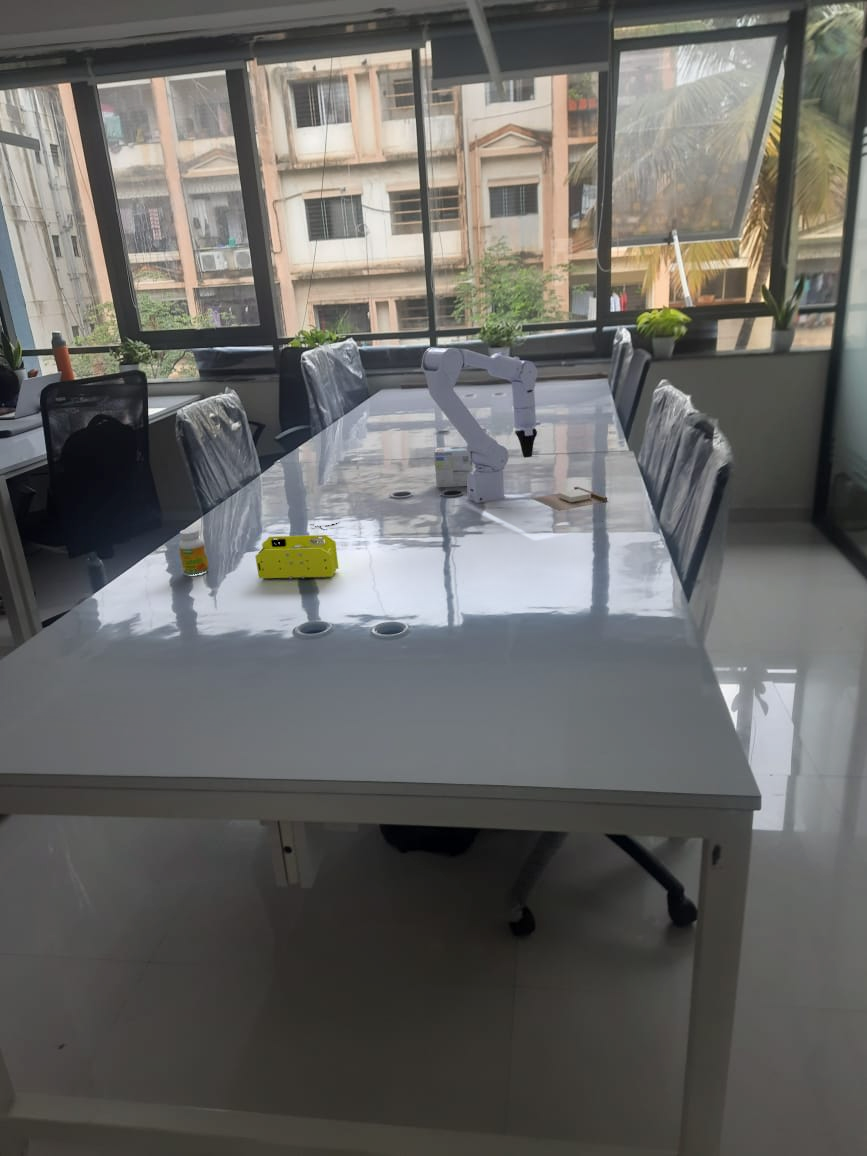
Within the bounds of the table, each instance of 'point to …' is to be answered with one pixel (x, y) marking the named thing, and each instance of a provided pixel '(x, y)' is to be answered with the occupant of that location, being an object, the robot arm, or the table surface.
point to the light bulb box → (452, 466)
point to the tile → (574, 495)
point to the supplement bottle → (193, 552)
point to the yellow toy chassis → (297, 557)
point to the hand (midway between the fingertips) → (527, 456)
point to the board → (563, 504)
